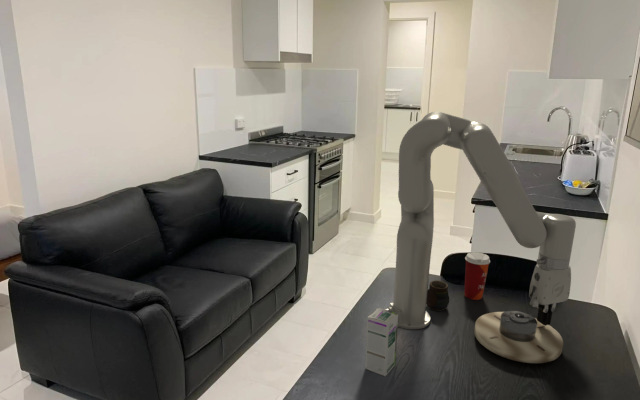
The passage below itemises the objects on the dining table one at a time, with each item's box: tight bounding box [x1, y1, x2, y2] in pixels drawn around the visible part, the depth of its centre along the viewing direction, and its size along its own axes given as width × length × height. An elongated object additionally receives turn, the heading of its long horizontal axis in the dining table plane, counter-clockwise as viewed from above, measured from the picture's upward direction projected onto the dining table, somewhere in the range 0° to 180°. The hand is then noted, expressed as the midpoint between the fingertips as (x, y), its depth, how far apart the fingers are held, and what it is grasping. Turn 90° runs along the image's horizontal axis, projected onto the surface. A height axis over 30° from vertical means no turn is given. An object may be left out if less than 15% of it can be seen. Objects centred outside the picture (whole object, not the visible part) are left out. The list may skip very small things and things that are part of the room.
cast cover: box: [499, 310, 537, 342], centre depth 128 cm, size 9×9×5 cm
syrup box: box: [364, 307, 398, 377], centre depth 117 cm, size 6×6×14 cm
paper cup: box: [464, 251, 491, 301], centre depth 155 cm, size 8×8×14 cm
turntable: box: [474, 311, 564, 364], centre depth 129 cm, size 22×22×2 cm
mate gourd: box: [426, 279, 450, 312], centre depth 147 cm, size 7×8×10 cm
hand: (543, 322), depth 132 cm, fingers closed
